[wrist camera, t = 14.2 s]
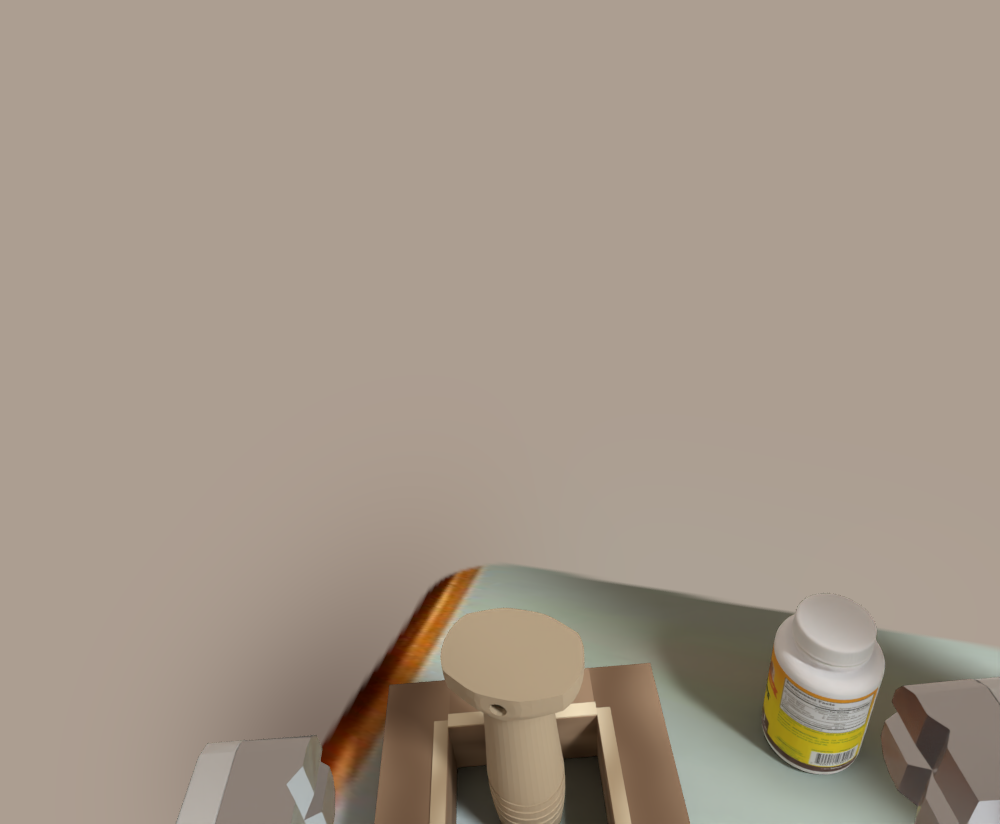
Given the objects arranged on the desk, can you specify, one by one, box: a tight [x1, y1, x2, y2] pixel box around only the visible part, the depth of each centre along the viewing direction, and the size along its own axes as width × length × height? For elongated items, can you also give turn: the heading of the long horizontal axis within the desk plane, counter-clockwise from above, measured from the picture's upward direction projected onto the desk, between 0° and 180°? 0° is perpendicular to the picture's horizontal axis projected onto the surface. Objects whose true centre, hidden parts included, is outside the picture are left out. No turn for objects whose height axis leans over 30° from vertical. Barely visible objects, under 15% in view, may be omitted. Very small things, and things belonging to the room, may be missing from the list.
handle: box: [440, 608, 584, 824], centre depth 36 cm, size 5×6×15 cm
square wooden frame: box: [374, 663, 690, 824], centre depth 39 cm, size 16×14×4 cm
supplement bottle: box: [762, 593, 885, 775], centre depth 41 cm, size 6×6×10 cm
